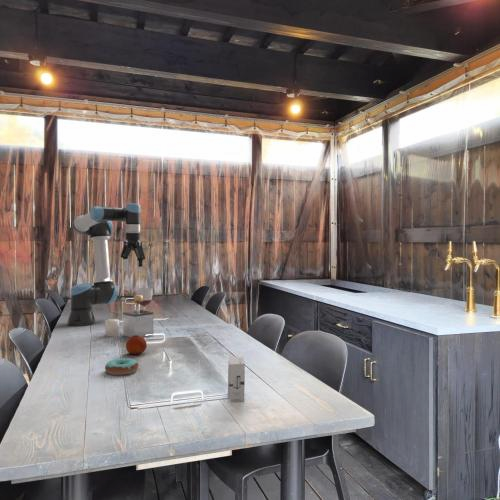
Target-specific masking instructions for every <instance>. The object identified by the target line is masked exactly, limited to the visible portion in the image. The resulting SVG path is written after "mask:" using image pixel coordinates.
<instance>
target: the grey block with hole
mask: <svg viewBox="0 0 500 500" xmlns="http://www.w3.org/2000/svg"><path fill="white" fill-rule="evenodd" d="M146 334H153V335H154V311H150V310H145V311H144V310H143V309H140V313H137V310H131V311H123V312H122V336H124V337H127V338H130V337H132V336H134V335H138V336H140V337H142V338H145V337H144V336H145V335H146Z"/></svg>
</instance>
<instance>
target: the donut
mask: <svg viewBox="0 0 500 500" xmlns="http://www.w3.org/2000/svg"><path fill="white" fill-rule="evenodd" d="M138 368H139V363H138V361H137V360H136V359H133V358H123V357H122V358H115V359H112V360H109V361H107V362H106V364H105V365H104V371H105V372H106V374H108V375H110V376H126V374H127V375H131V374H133V373H135V372H137V370H138ZM130 373H131V374H130Z"/></svg>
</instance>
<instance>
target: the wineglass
mask: <svg viewBox="0 0 500 500" xmlns="http://www.w3.org/2000/svg"><path fill="white" fill-rule="evenodd" d="M153 290H154V289H153V288H152V287H151V288H150V287H149V288H148V287H147V288H146V287H145V288H144V287H143V288H142V287H141V288H135V295H142V296H143V302H140V305H141V306H142V307H143V309H142V310H144V311H146V306H148V305H149V304H150V303H151V302H152V300H153V293H154V292H153Z"/></svg>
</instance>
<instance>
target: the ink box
mask: <svg viewBox="0 0 500 500" xmlns="http://www.w3.org/2000/svg"><path fill="white" fill-rule="evenodd" d="M227 363H228V366H227V370H228V371H227V375H228V377H227V395H228V396H227V397H228V401H229V403H239V402H242V403H243V402H245V389H246V388H245V385H246V384H245V381H246V380H245V377H246V376H245V375H246V372H245V368H246V365H245V360H244V356H228V362H227Z"/></svg>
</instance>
